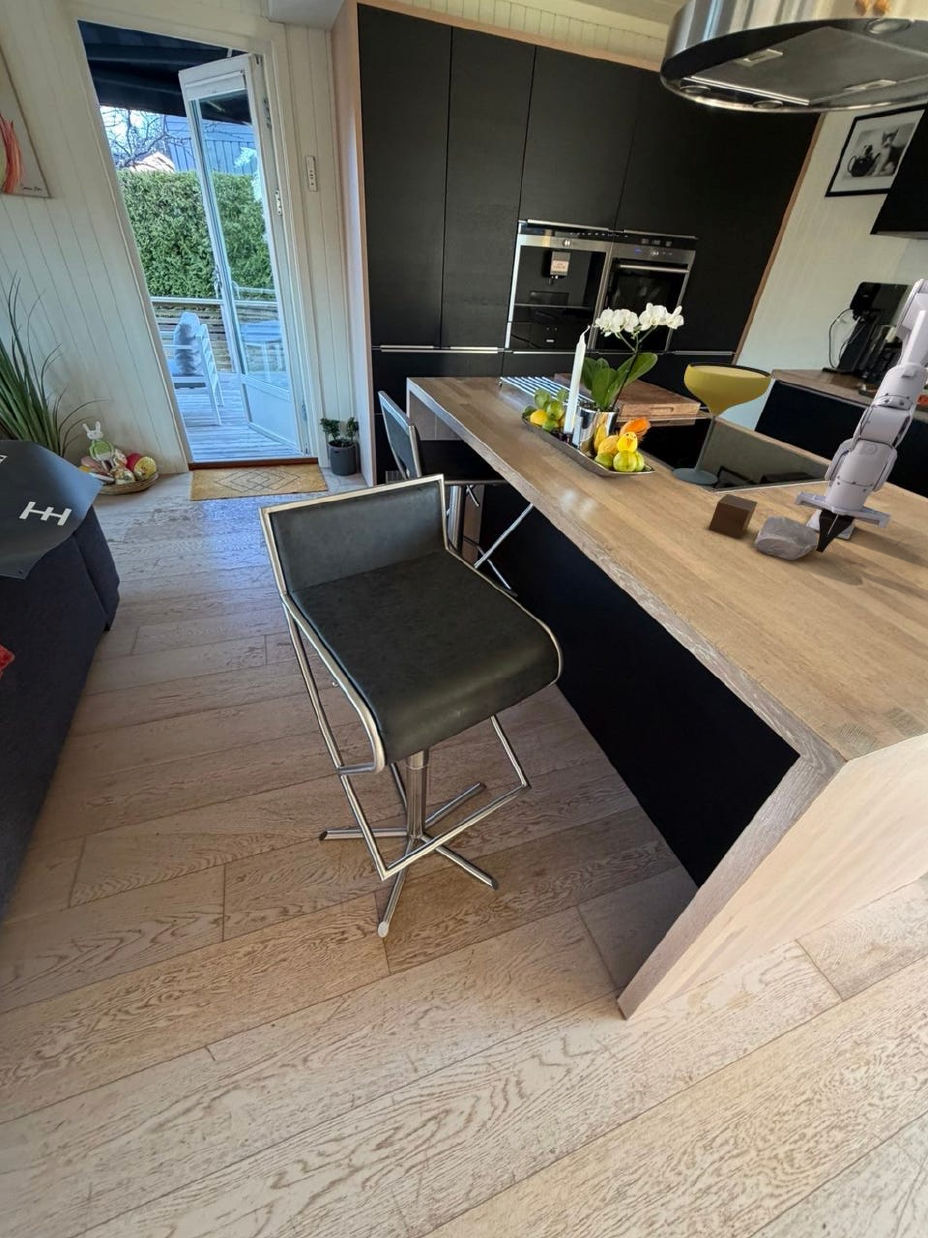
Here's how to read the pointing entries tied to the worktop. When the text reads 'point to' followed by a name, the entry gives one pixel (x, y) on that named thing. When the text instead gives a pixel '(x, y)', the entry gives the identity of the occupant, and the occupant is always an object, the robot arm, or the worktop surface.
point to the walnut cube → (732, 515)
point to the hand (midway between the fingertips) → (819, 550)
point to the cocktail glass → (720, 399)
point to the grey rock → (785, 538)
